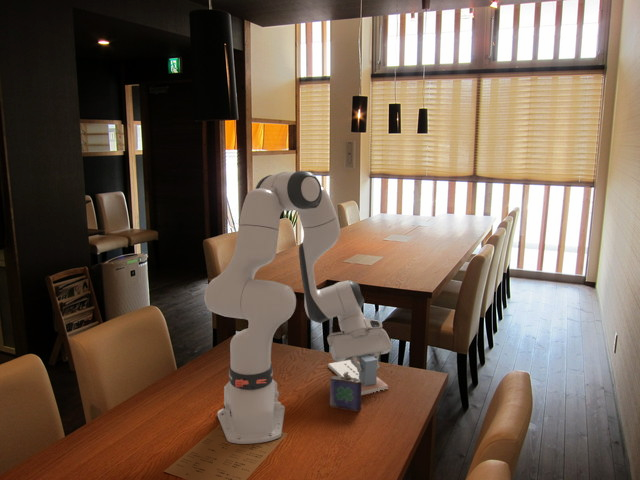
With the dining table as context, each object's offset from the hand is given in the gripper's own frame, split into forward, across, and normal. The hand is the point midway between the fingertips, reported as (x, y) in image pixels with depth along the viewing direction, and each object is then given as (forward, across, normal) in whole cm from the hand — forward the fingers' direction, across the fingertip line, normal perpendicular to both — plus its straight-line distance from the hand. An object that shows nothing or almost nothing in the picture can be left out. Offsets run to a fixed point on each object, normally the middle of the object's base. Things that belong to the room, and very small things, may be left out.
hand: (369, 369), depth 165 cm
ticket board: (-1, 0, +10) cm, 10 cm away
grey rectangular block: (+3, 0, +4) cm, 4 cm away
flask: (+10, -12, -1) cm, 16 cm away
